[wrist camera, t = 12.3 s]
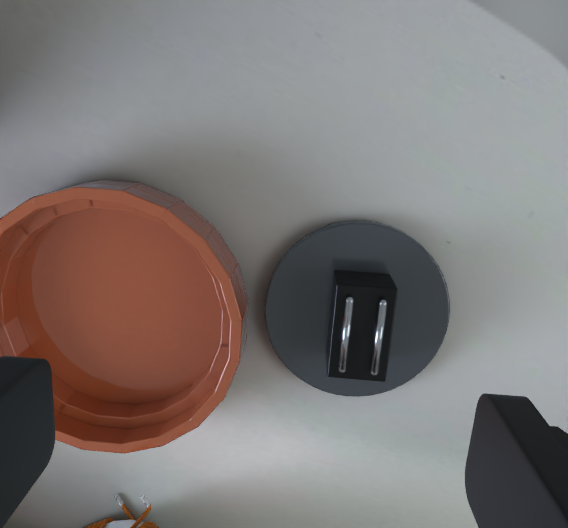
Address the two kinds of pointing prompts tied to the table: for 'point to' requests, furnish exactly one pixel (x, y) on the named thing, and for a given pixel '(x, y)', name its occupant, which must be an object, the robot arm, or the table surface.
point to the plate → (318, 290)
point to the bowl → (122, 311)
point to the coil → (126, 526)
